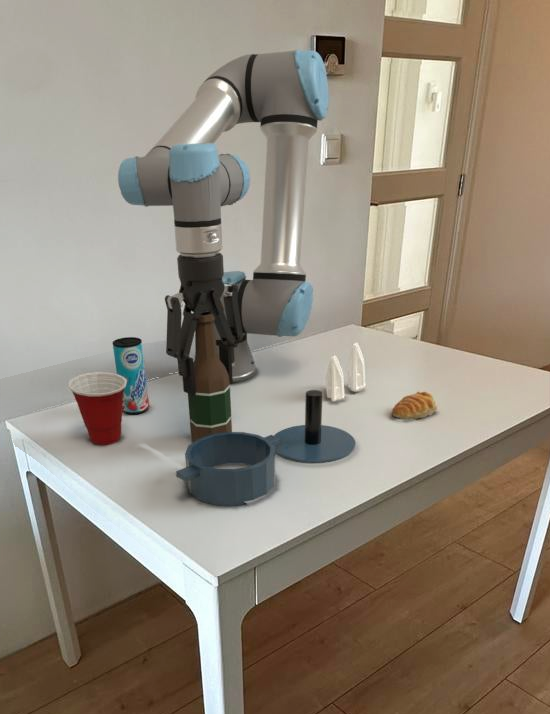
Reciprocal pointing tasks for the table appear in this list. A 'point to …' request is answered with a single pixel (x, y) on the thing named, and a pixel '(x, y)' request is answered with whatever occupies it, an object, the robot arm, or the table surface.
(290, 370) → the table surface
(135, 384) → the beverage can
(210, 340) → the beer bottle
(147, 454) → the table surface
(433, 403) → the pastry
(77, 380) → the plastic cup
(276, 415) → the table surface
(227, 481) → the pot
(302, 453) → the lid
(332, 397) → the shaker set
